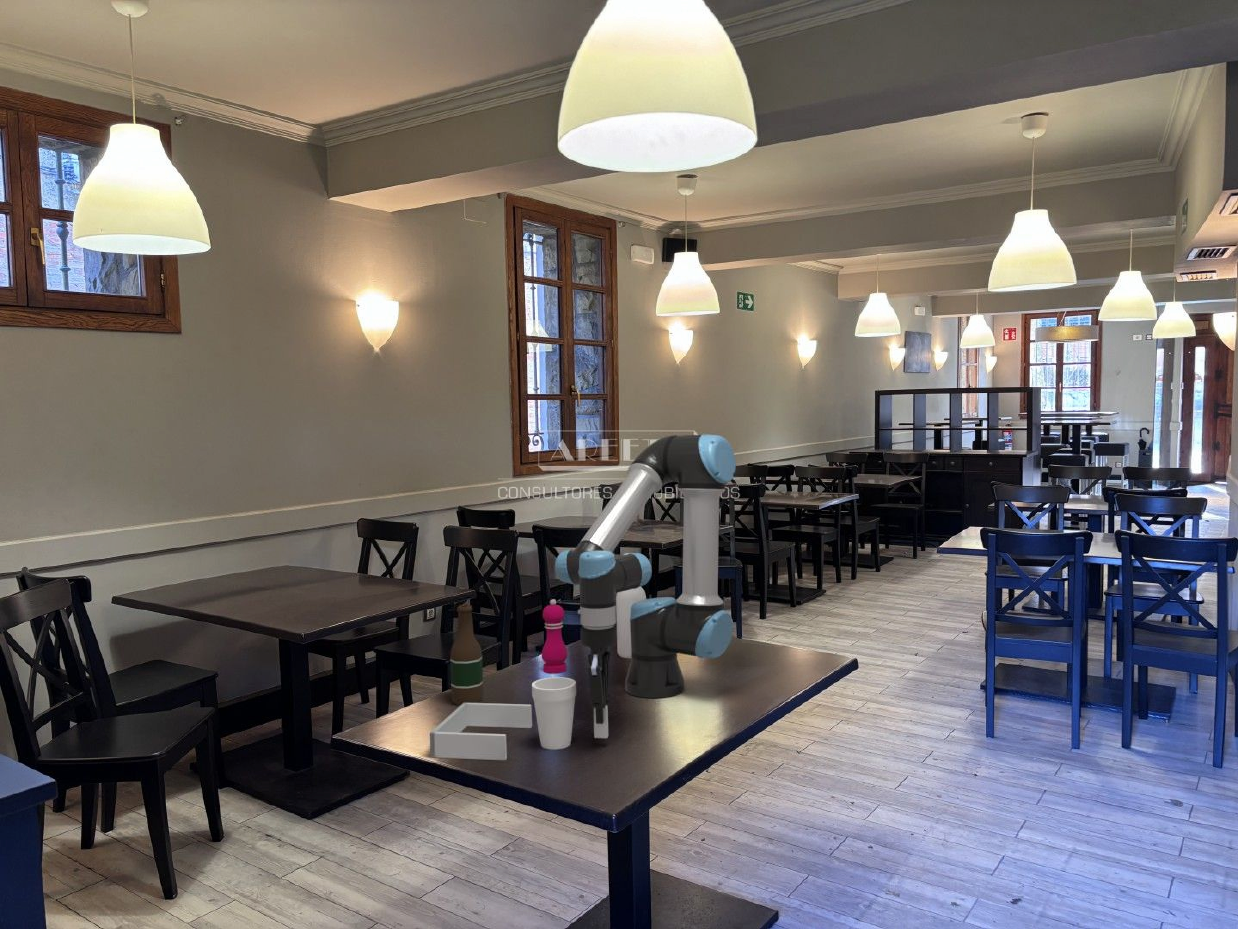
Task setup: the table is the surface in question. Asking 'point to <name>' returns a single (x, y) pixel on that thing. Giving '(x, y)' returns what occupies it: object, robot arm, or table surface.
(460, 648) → the beer bottle
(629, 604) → the alcohol
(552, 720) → the foam cup
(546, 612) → the pepper mill
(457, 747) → the box
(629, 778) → the table surface
